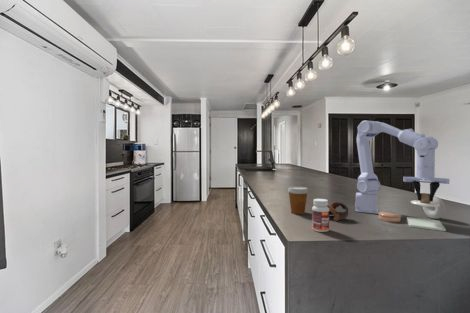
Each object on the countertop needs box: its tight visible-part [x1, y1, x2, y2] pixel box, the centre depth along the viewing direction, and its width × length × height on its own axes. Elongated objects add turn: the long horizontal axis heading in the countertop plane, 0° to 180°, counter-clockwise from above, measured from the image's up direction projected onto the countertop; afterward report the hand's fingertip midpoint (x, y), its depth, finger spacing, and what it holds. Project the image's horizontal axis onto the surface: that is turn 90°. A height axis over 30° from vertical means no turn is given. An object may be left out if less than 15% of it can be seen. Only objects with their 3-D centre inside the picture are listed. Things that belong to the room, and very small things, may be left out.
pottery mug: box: [327, 201, 349, 222], centre depth 109 cm, size 12×9×8 cm
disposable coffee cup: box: [287, 186, 309, 215], centre depth 119 cm, size 10×10×12 cm
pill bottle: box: [311, 198, 330, 233], centre depth 93 cm, size 6×6×11 cm
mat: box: [406, 216, 447, 232], centre depth 100 cm, size 11×13×1 cm
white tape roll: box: [422, 195, 446, 220], centre depth 108 cm, size 10×4×10 cm, turn 3°
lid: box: [410, 192, 440, 208], centre depth 99 cm, size 9×9×4 cm
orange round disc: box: [378, 211, 402, 223], centre depth 107 cm, size 9×9×2 cm
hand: (425, 200), depth 99 cm, fingers closed on lid, 3 cm apart
